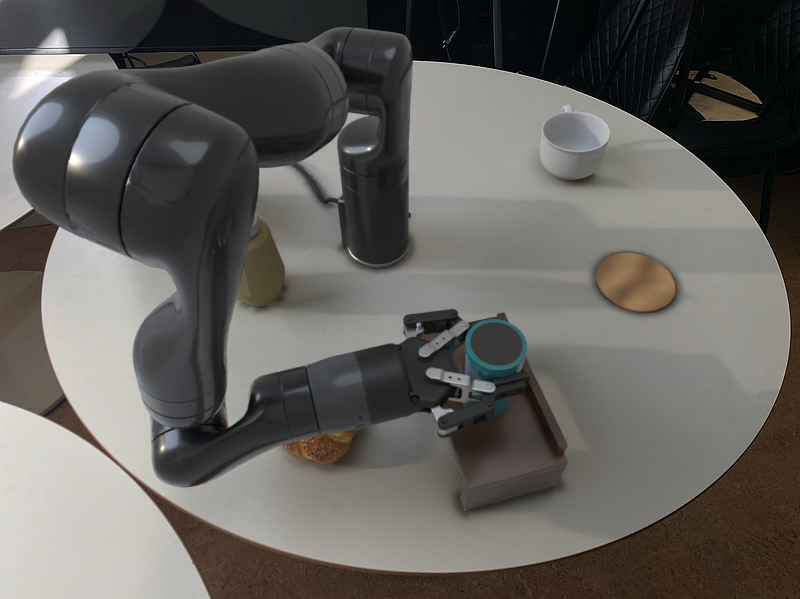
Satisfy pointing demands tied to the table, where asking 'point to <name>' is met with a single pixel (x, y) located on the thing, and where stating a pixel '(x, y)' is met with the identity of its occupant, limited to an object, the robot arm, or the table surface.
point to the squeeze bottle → (261, 268)
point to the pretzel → (322, 447)
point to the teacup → (573, 143)
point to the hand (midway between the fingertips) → (514, 351)
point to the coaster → (635, 282)
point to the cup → (494, 355)
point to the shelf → (508, 446)
